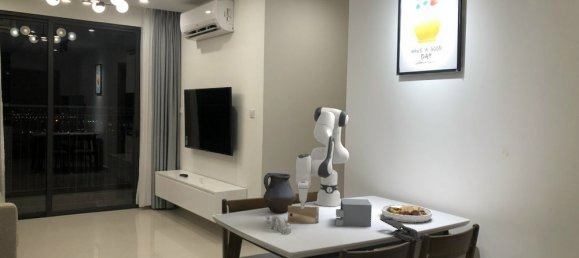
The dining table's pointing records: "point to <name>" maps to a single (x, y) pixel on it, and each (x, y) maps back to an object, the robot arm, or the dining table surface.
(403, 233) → the dark grey clamp
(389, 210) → the bowl
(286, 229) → the gateway
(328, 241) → the dining table surface
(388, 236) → the dining table surface
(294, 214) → the cabinet door
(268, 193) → the pitcher
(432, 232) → the dining table surface
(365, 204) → the cabinet
